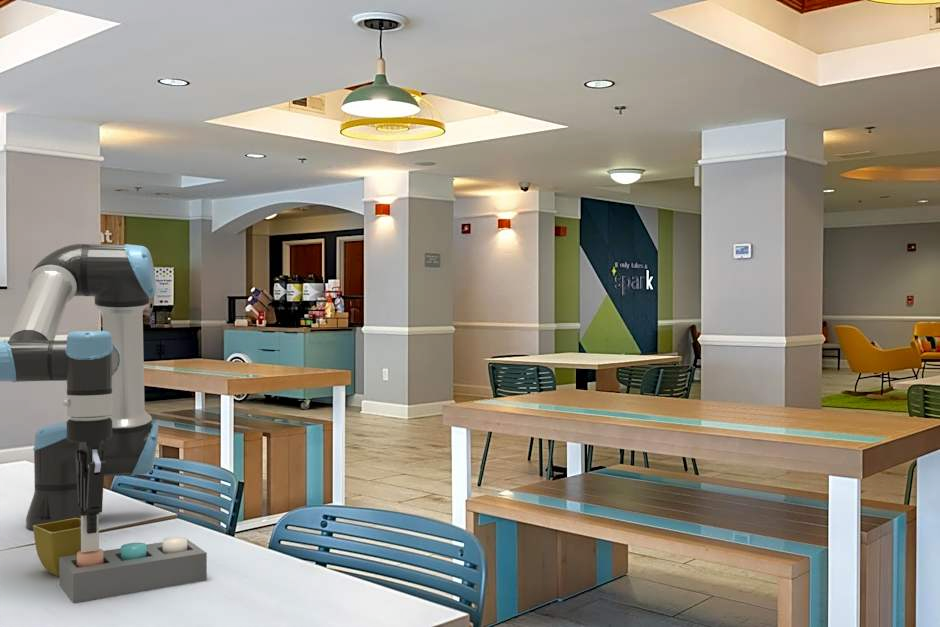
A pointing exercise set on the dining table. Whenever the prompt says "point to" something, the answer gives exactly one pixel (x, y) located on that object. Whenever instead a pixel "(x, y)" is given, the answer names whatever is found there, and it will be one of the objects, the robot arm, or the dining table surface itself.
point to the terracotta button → (89, 558)
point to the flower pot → (57, 542)
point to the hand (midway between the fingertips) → (90, 550)
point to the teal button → (133, 551)
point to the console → (131, 572)
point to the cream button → (174, 545)
